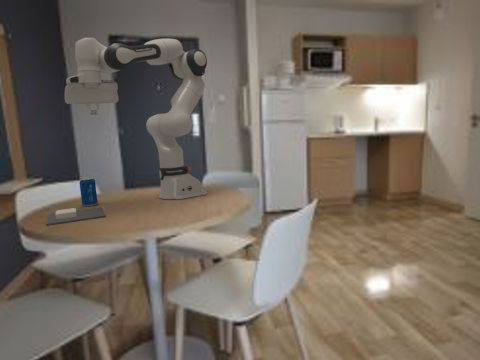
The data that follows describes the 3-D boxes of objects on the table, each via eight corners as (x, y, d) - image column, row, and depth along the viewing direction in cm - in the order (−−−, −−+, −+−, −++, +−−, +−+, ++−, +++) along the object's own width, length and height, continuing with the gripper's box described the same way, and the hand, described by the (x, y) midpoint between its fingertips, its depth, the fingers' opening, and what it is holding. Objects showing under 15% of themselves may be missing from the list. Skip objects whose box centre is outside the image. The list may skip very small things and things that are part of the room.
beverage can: (84, 207, 157) (81, 180, 156) (80, 205, 162) (77, 179, 161) (99, 204, 161) (96, 178, 160) (95, 202, 166) (92, 177, 165)
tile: (75, 207, 145) (56, 210, 142) (76, 211, 138) (55, 214, 135) (76, 212, 145) (56, 215, 142) (76, 216, 138) (56, 219, 135)
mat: (101, 208, 154) (101, 206, 154) (105, 217, 138) (105, 215, 138) (48, 215, 145) (48, 214, 145) (46, 225, 129) (46, 223, 129)
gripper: (116, 81, 153) (119, 114, 155) (62, 80, 144) (66, 116, 146) (118, 78, 147) (121, 113, 149) (62, 78, 138) (66, 115, 140)
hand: (93, 114), depth 147 cm, fingers closed
